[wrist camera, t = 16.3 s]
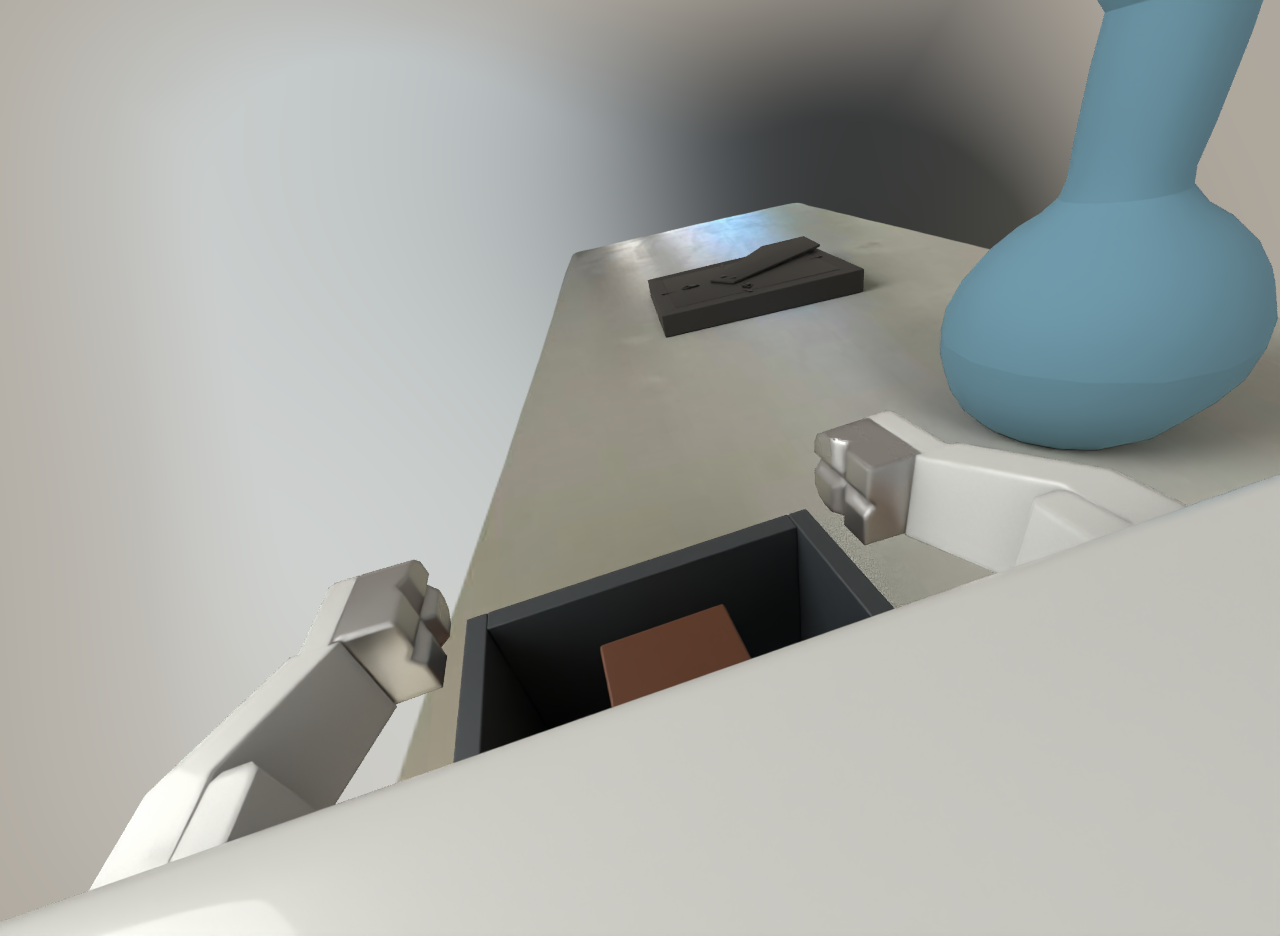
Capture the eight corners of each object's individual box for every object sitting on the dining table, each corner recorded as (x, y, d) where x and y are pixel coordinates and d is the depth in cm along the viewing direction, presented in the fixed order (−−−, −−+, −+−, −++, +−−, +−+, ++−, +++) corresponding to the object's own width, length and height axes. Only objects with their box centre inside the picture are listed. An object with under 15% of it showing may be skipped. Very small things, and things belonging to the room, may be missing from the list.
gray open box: (594, 1292, 12) (390, 1394, 6) (554, 756, 24) (466, 619, 18) (1064, 1081, 13) (1251, 1005, 8) (810, 665, 25) (805, 508, 19)
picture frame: (804, 261, 87) (651, 297, 89) (803, 236, 85) (646, 273, 86) (863, 291, 68) (665, 337, 69) (864, 260, 65) (660, 308, 67)
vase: (1059, 508, 29) (1267, -74, 16) (886, 402, 43) (916, 42, 30) (1292, 431, 31) (1674, -175, 17) (1051, 351, 44) (1153, -18, 31)
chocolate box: (715, 1005, 15) (646, 895, 9) (663, 801, 20) (597, 644, 14) (831, 957, 16) (836, 820, 10) (752, 768, 21) (723, 600, 15)
